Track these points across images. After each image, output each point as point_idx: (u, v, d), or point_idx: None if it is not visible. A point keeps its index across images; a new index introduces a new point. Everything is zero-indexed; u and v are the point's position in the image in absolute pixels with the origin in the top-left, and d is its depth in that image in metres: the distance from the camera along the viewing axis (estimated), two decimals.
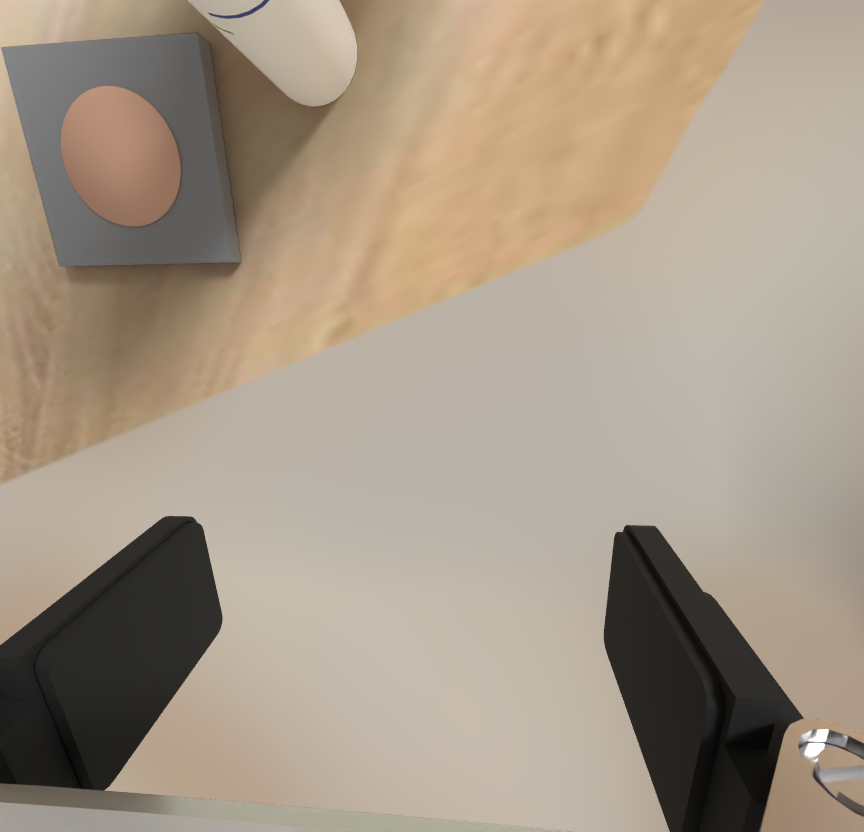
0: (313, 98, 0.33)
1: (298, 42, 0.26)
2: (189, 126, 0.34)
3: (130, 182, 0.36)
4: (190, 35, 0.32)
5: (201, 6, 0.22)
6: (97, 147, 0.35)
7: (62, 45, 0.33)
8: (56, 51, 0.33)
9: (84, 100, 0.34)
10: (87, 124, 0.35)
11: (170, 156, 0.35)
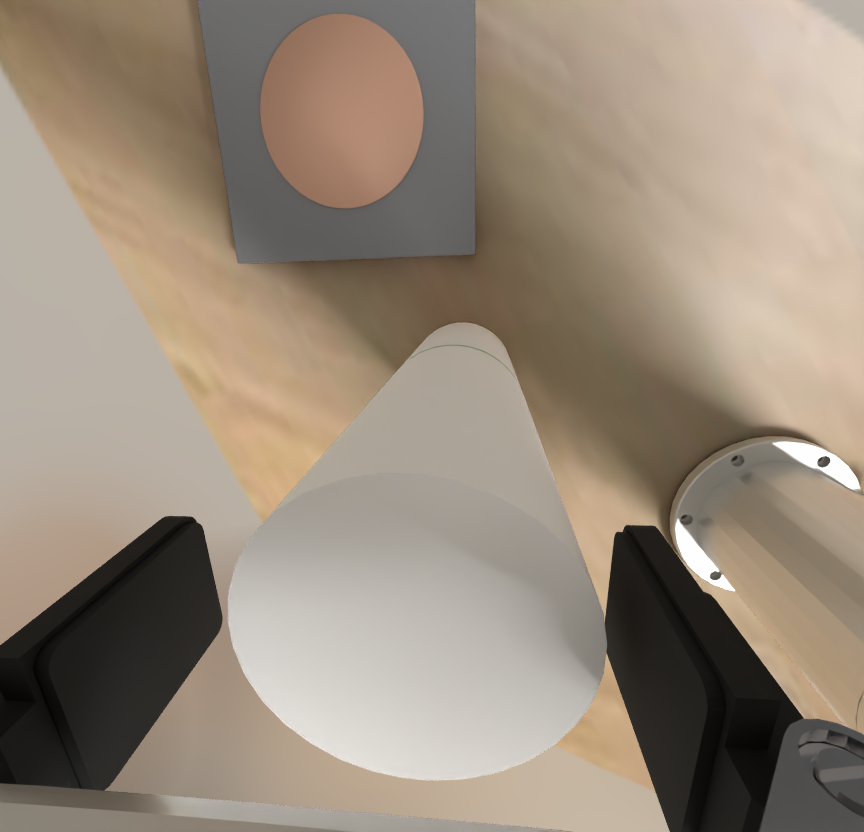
0: None
1: None
2: (381, 227, 0.28)
3: (313, 127, 0.26)
4: (472, 244, 0.28)
5: None
6: (352, 81, 0.26)
7: (471, 47, 0.25)
8: (465, 35, 0.24)
9: (409, 71, 0.25)
10: (379, 70, 0.25)
11: (349, 194, 0.28)
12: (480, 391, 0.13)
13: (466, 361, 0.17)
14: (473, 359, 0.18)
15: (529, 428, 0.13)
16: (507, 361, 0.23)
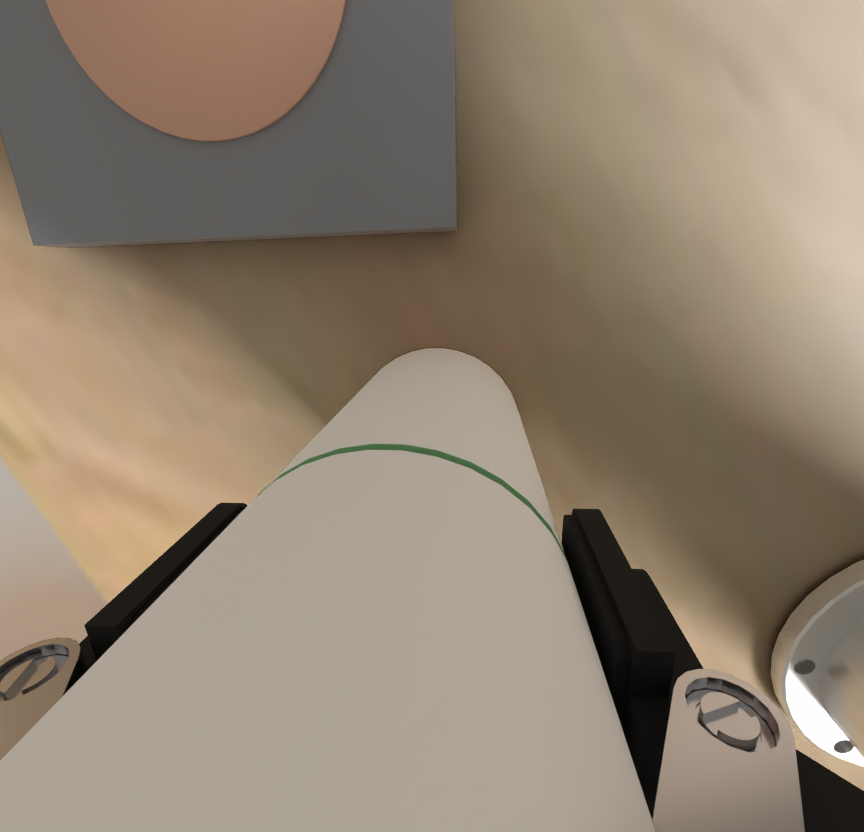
0: None
1: None
2: (282, 177, 0.15)
3: None
4: (451, 208, 0.15)
5: None
6: None
7: None
8: None
9: None
10: None
11: (218, 114, 0.15)
12: None
13: (388, 606, 0.04)
14: (424, 562, 0.05)
15: None
16: (522, 453, 0.11)
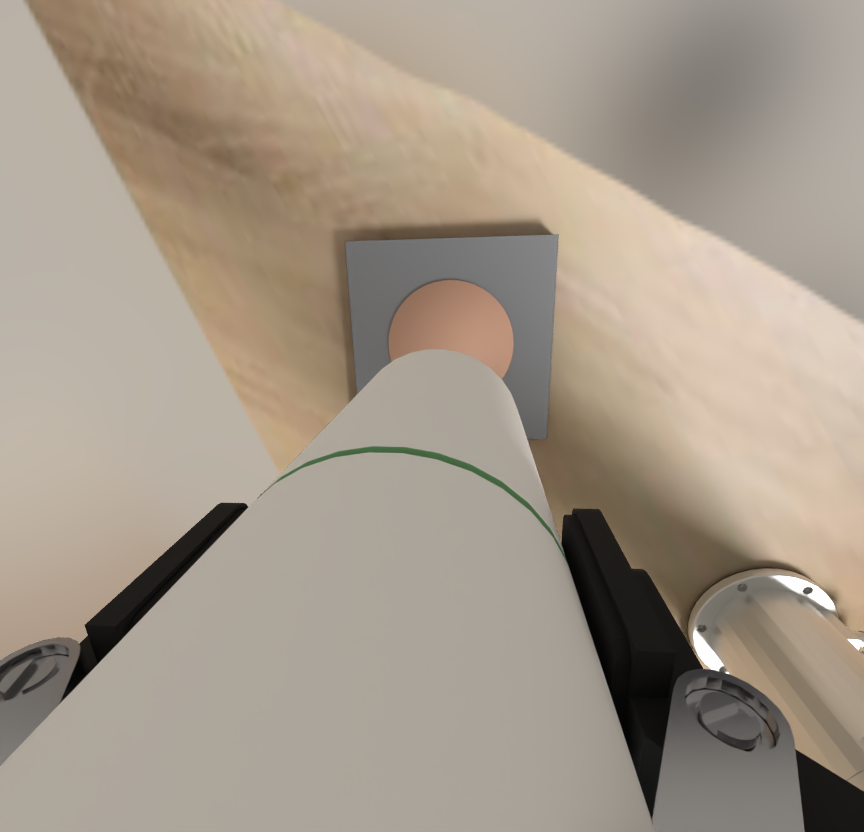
0: None
1: None
2: None
3: None
4: (544, 433, 0.37)
5: None
6: (461, 323, 0.34)
7: (551, 305, 0.33)
8: (547, 298, 0.33)
9: (504, 318, 0.34)
10: (482, 317, 0.34)
11: None
12: None
13: (388, 612, 0.04)
14: (424, 567, 0.05)
15: None
16: (522, 455, 0.11)
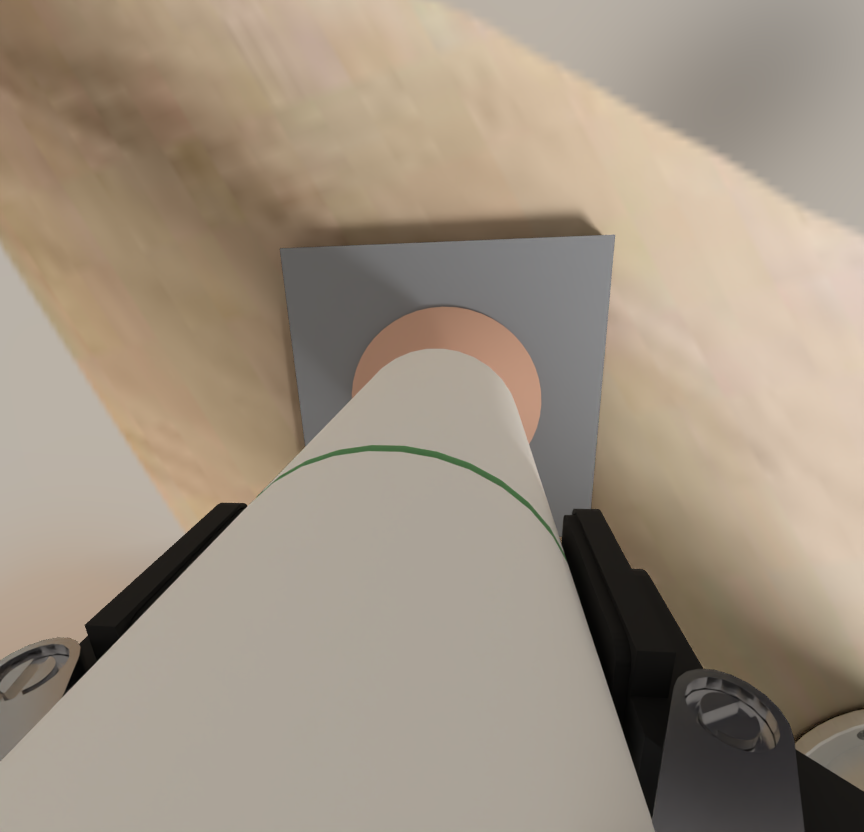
0: None
1: None
2: None
3: None
4: None
5: None
6: None
7: (601, 345, 0.22)
8: (595, 334, 0.21)
9: (527, 363, 0.22)
10: (493, 363, 0.22)
11: None
12: None
13: (387, 610, 0.04)
14: (424, 565, 0.05)
15: None
16: (522, 454, 0.11)
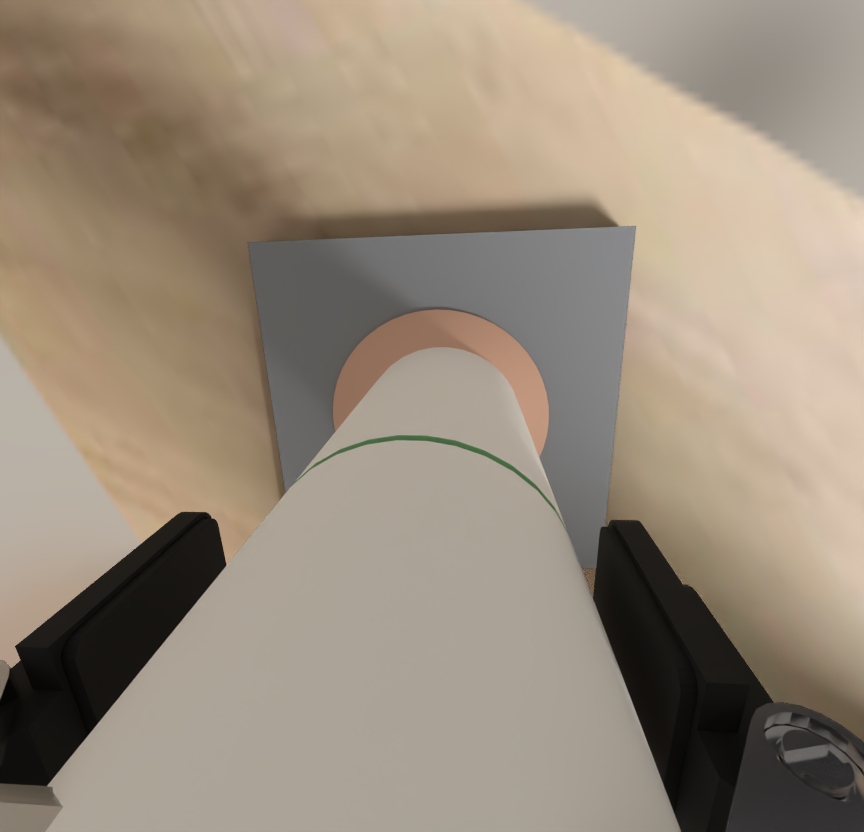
0: None
1: None
2: None
3: None
4: None
5: None
6: None
7: (618, 354, 0.19)
8: (611, 341, 0.19)
9: (533, 374, 0.19)
10: None
11: None
12: None
13: (434, 560, 0.05)
14: (457, 529, 0.06)
15: None
16: (527, 444, 0.12)
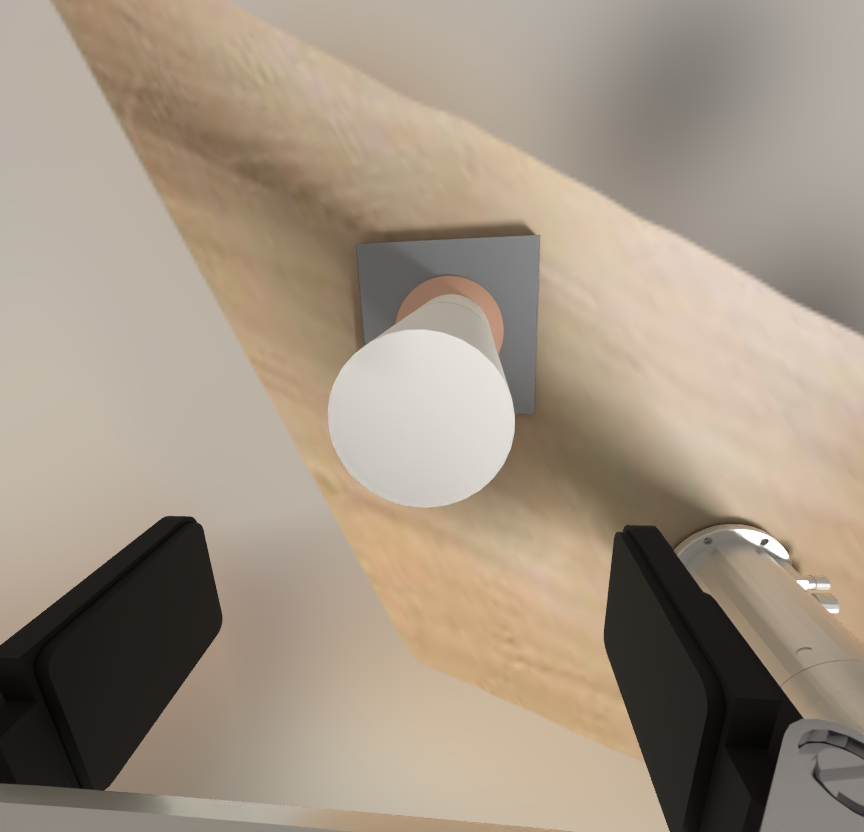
0: None
1: None
2: None
3: None
4: (532, 408, 0.42)
5: None
6: None
7: (535, 296, 0.39)
8: (532, 290, 0.39)
9: (495, 307, 0.39)
10: None
11: None
12: (457, 317, 0.21)
13: (450, 307, 0.25)
14: (455, 307, 0.26)
15: (488, 339, 0.21)
16: (483, 317, 0.32)
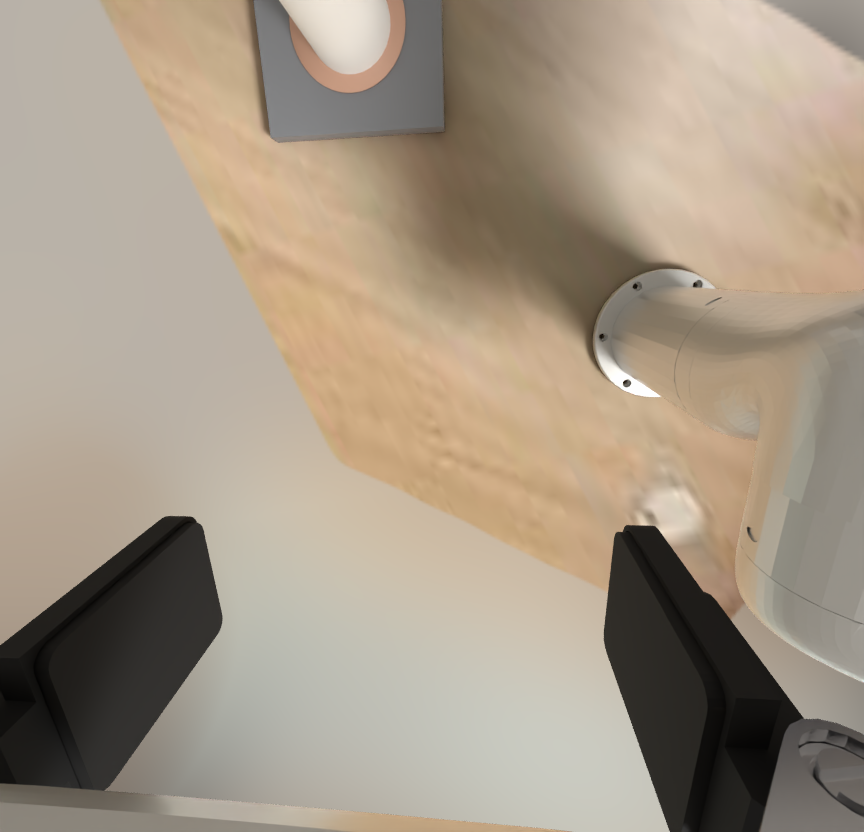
0: None
1: None
2: (376, 107, 0.39)
3: None
4: (441, 119, 0.39)
5: None
6: None
7: None
8: None
9: None
10: None
11: (352, 82, 0.38)
12: None
13: None
14: None
15: None
16: None
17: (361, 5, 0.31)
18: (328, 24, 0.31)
